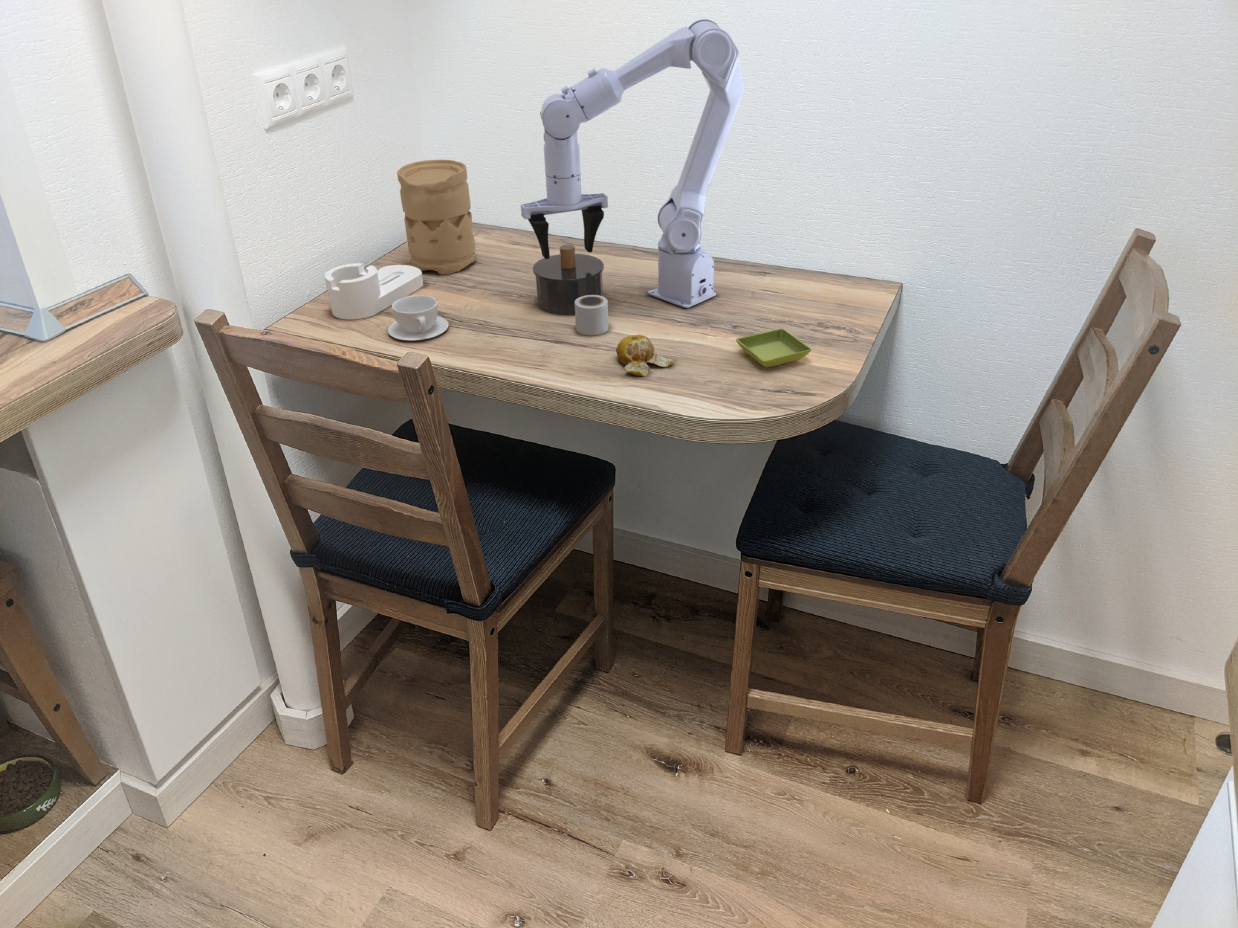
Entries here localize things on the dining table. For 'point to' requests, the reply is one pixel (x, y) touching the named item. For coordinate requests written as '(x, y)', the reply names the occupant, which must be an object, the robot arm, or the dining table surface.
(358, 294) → the bracket
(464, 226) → the container
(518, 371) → the dining table surface
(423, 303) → the teacup
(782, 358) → the saucer
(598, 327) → the tape roll
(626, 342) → the fruit
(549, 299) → the pot
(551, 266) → the lid
